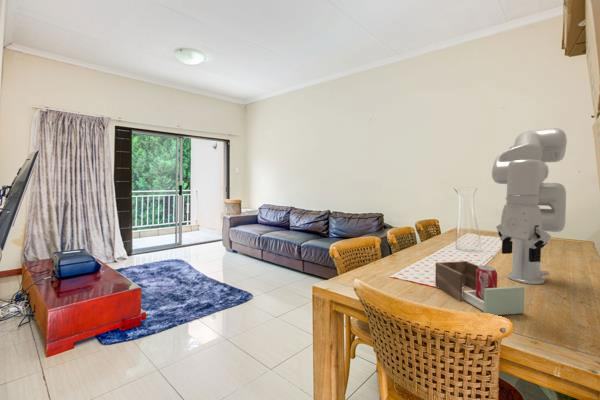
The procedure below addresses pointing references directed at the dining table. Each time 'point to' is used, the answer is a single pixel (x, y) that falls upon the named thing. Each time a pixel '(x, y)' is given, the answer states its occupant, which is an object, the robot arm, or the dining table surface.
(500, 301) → the pale green drawer
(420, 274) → the dining table surface
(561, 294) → the dining table surface
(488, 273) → the beverage can
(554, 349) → the dining table surface
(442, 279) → the box
